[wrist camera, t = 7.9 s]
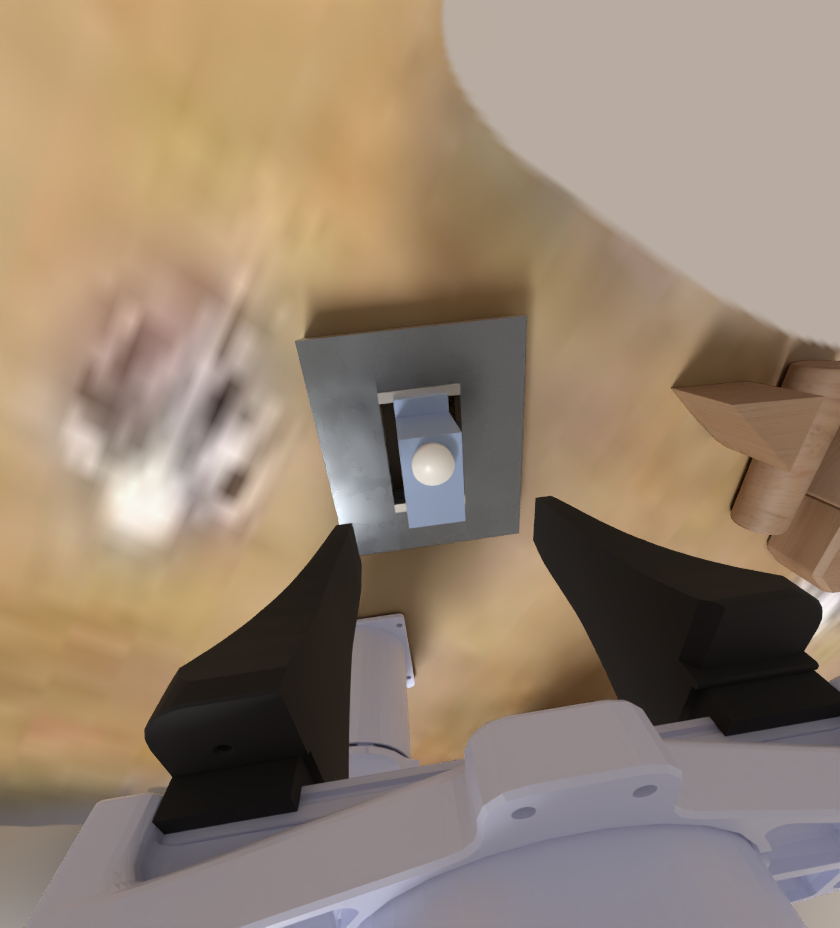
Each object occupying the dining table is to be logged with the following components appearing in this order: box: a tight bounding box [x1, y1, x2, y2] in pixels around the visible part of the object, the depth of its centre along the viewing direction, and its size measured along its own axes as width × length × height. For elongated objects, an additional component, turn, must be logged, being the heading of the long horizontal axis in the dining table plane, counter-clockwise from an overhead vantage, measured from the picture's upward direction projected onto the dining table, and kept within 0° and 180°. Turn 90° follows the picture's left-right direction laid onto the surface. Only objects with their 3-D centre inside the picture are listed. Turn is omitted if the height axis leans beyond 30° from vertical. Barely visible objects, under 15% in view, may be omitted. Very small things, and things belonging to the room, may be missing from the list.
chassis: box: [295, 315, 527, 555], centre depth 21 cm, size 14×12×2 cm
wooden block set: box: [671, 360, 840, 593], centre depth 24 cm, size 17×6×18 cm
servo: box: [393, 393, 465, 528], centre depth 19 cm, size 7×3×7 cm, turn 5°
